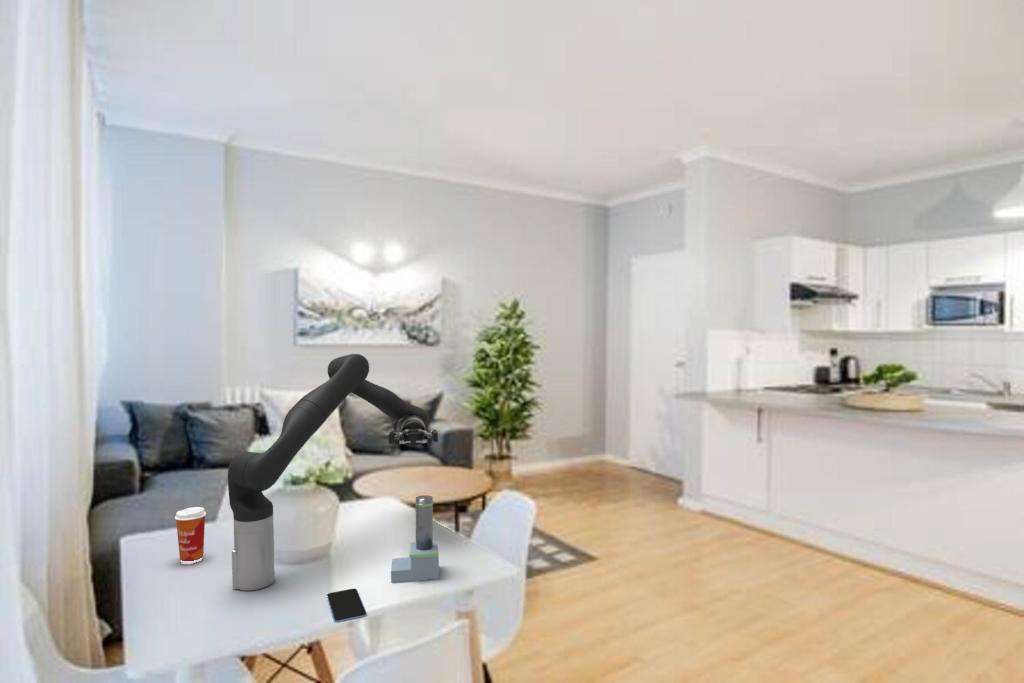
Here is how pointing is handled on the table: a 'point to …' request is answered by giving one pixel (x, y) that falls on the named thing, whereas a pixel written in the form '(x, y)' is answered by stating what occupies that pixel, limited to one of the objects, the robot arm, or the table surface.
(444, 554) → the table surface
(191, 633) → the table surface
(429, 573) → the blue-grey stepped block
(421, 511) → the steel thermos flask
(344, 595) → the smartphone
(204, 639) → the table surface
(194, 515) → the paper cup
